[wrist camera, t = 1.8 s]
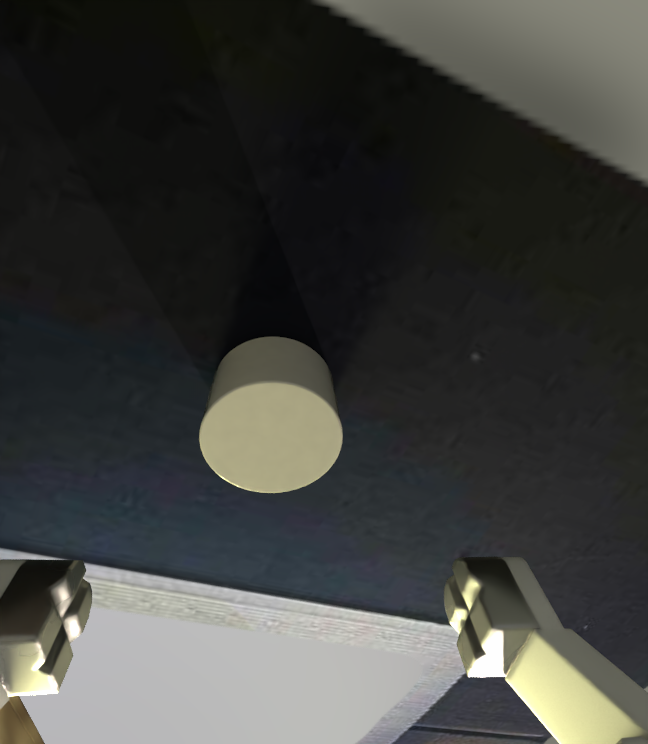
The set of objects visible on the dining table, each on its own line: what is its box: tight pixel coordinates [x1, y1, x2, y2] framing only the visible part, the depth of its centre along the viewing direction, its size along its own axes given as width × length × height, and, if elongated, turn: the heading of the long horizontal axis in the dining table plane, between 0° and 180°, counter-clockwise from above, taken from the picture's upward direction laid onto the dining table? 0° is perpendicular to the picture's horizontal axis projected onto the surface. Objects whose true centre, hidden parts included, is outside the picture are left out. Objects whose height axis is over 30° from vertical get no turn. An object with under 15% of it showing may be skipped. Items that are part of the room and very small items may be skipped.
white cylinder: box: [199, 337, 343, 493], centre depth 14 cm, size 4×4×3 cm
